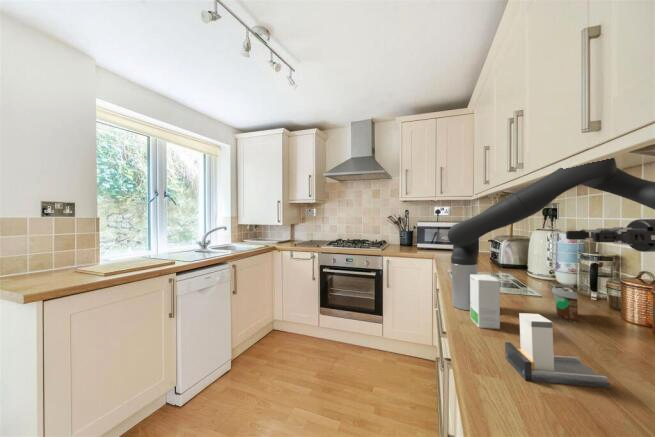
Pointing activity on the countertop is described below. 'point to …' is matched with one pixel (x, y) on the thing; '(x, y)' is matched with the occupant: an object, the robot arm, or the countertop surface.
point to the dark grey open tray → (555, 370)
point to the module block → (537, 340)
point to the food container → (566, 302)
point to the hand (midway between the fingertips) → (579, 236)
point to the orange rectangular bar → (528, 359)
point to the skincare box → (485, 301)
